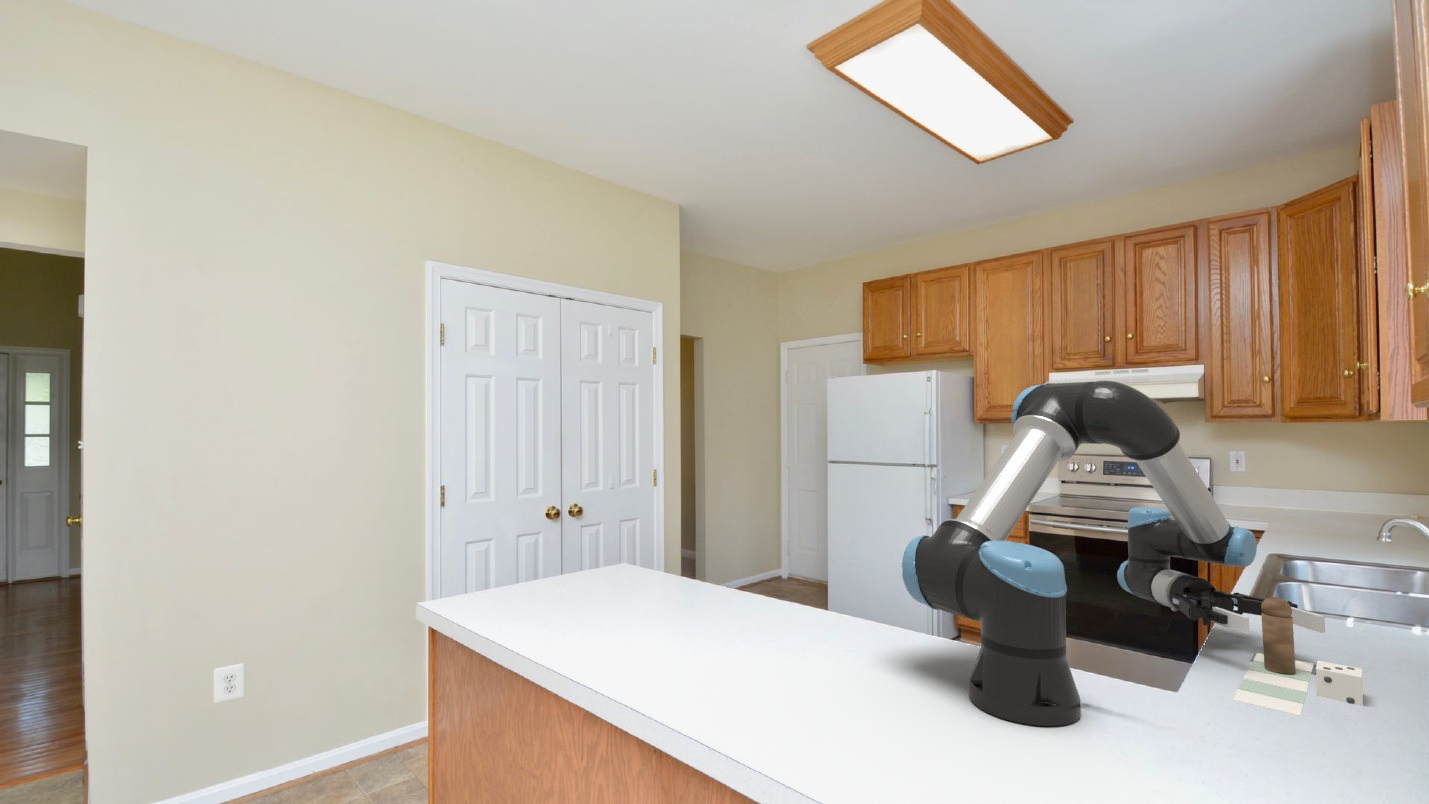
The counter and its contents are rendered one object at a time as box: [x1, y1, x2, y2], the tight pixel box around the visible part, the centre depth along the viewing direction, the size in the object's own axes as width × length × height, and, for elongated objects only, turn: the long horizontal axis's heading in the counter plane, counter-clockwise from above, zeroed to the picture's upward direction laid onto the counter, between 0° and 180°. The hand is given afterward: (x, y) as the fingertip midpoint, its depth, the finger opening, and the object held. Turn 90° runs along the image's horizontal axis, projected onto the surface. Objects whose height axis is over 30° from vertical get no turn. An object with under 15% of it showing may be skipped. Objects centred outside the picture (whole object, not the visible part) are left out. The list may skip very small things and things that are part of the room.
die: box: [1315, 660, 1364, 707], centre depth 100 cm, size 5×5×5 cm
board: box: [1232, 652, 1317, 717], centre depth 106 cm, size 8×30×1 cm, turn 135°
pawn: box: [1261, 596, 1296, 674], centre depth 111 cm, size 4×4×12 cm
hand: (1285, 625), depth 109 cm, fingers open, 13 cm apart
